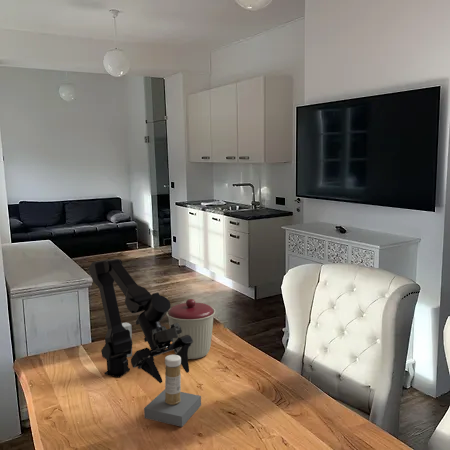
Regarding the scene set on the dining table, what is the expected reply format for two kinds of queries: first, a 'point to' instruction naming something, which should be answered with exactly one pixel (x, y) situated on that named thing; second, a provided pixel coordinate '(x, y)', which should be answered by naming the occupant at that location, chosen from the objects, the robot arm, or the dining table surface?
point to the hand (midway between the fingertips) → (175, 377)
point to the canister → (194, 325)
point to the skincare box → (128, 326)
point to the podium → (172, 409)
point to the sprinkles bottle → (172, 379)
